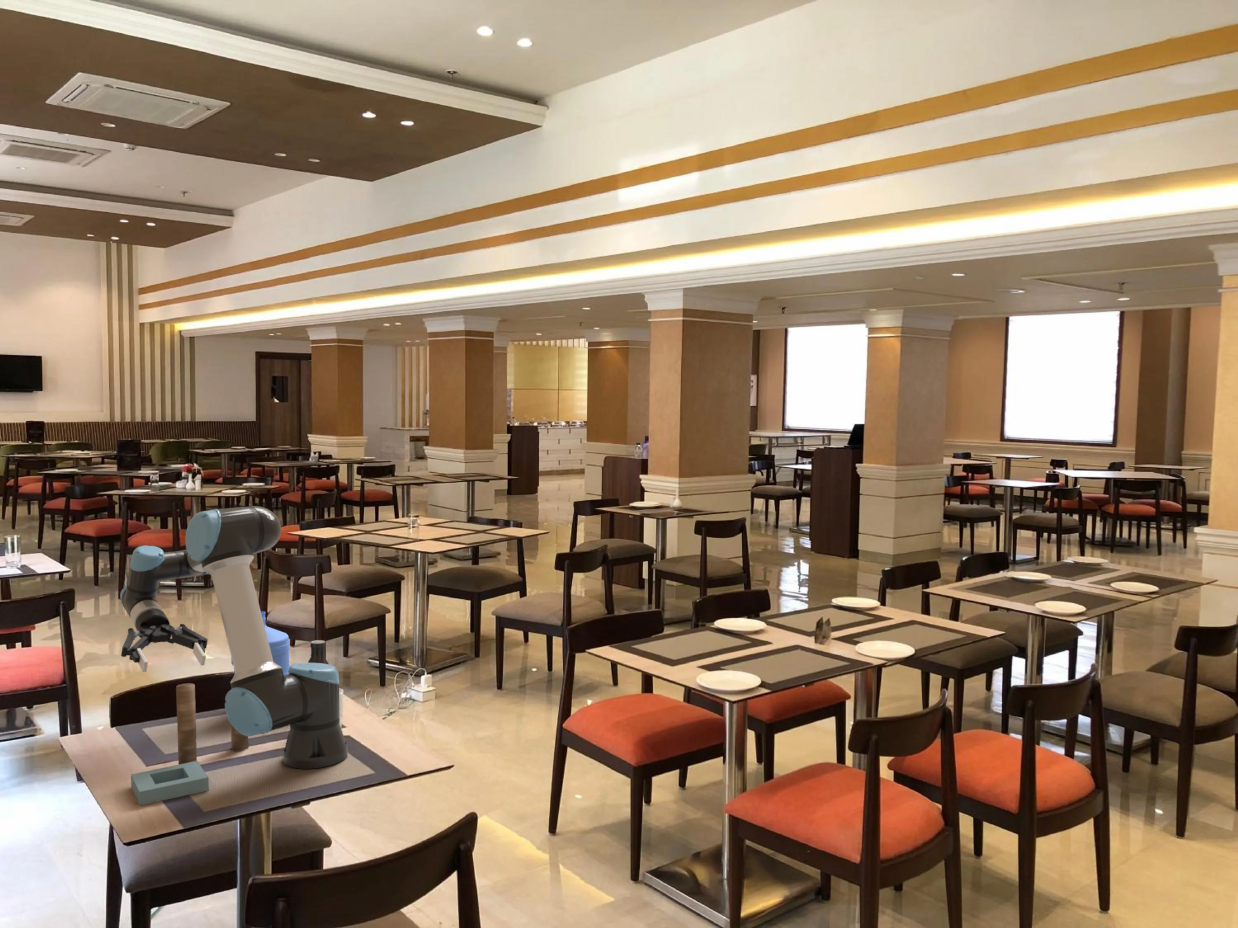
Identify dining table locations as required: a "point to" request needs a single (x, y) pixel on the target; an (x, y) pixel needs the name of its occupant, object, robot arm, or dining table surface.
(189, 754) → the tall peg
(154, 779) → the hollow square block
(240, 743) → the short peg
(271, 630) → the water jug
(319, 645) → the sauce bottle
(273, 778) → the dining table surface
